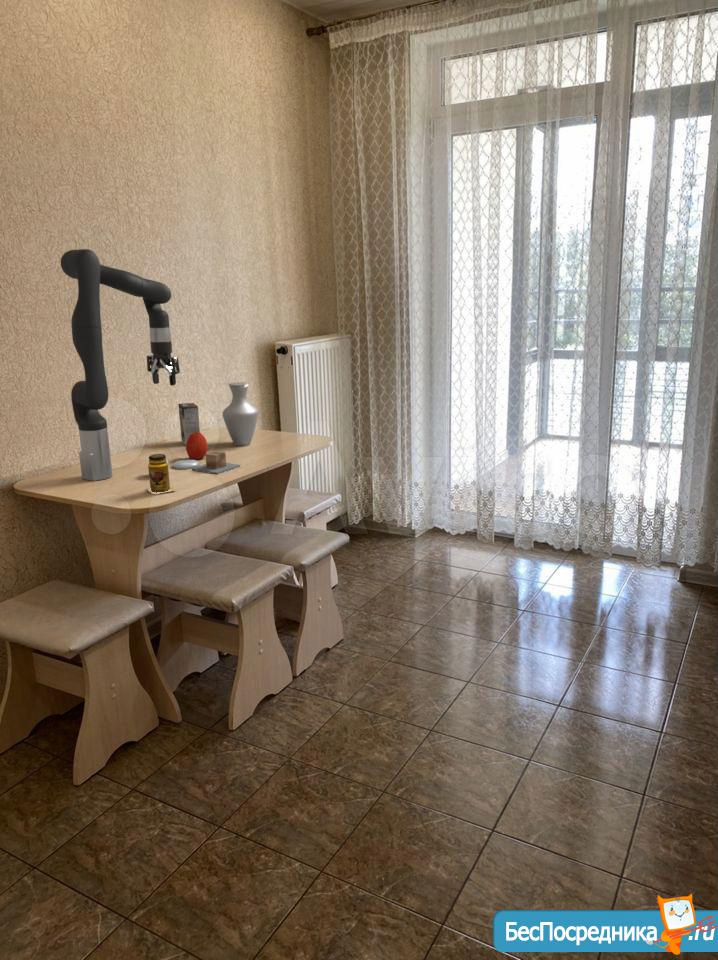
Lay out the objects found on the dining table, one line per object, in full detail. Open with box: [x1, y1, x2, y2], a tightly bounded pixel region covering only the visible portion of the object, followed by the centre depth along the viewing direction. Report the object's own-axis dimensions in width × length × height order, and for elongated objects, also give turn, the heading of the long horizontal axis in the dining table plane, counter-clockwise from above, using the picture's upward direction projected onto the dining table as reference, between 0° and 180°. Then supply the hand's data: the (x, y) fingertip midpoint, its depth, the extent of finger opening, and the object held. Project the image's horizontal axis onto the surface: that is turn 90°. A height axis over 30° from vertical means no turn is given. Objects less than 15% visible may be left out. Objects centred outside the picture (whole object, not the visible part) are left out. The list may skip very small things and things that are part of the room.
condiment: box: [147, 453, 171, 493], centre depth 230 cm, size 7×8×12 cm
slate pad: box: [191, 462, 241, 475], centre depth 257 cm, size 12×12×1 cm
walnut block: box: [205, 450, 227, 469], centre depth 256 cm, size 5×5×5 cm
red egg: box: [185, 431, 209, 460], centre depth 270 cm, size 8×8×11 cm
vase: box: [222, 381, 259, 447], centre depth 290 cm, size 14×14×25 cm
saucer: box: [173, 459, 200, 470], centre depth 261 cm, size 9×9×1 cm
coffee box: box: [178, 402, 201, 446], centre depth 294 cm, size 9×6×16 cm
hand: (164, 384), depth 265 cm, fingers open, 8 cm apart
